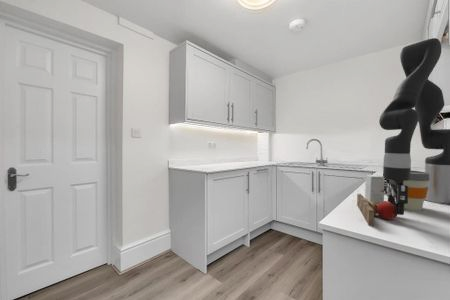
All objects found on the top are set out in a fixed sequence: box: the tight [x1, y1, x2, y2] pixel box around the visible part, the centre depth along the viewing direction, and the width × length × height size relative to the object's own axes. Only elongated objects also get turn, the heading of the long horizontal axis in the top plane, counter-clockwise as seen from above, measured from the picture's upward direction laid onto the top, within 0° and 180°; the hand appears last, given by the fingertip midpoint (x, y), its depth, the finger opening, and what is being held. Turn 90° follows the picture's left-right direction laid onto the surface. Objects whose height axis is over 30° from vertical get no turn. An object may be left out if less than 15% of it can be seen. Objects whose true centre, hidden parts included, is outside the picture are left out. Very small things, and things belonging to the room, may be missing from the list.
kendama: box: [365, 199, 398, 220], centre depth 80 cm, size 8×6×18 cm
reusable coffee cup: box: [400, 170, 429, 211], centre depth 87 cm, size 13×13×15 cm
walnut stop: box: [356, 193, 375, 227], centre depth 78 cm, size 24×1×5 cm, turn 155°
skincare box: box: [364, 174, 386, 204], centre depth 94 cm, size 6×4×12 cm
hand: (395, 210), depth 74 cm, fingers open, 8 cm apart
